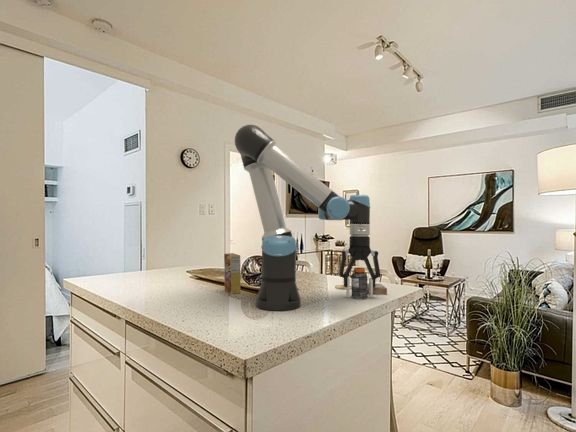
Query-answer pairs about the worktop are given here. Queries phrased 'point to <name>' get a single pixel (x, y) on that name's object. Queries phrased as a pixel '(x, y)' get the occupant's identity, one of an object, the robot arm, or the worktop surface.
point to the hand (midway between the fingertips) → (359, 295)
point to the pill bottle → (359, 284)
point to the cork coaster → (341, 287)
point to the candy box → (232, 272)
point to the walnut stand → (378, 289)
